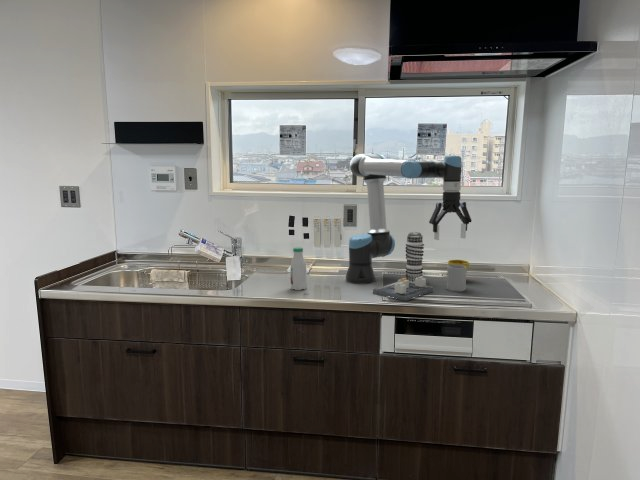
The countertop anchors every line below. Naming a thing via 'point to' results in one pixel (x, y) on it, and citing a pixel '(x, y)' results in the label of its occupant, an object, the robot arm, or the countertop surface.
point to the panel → (410, 293)
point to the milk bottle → (298, 270)
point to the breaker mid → (406, 282)
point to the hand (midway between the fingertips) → (449, 238)
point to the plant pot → (459, 263)
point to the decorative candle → (414, 256)
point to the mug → (456, 278)
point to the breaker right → (420, 281)
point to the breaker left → (400, 288)
